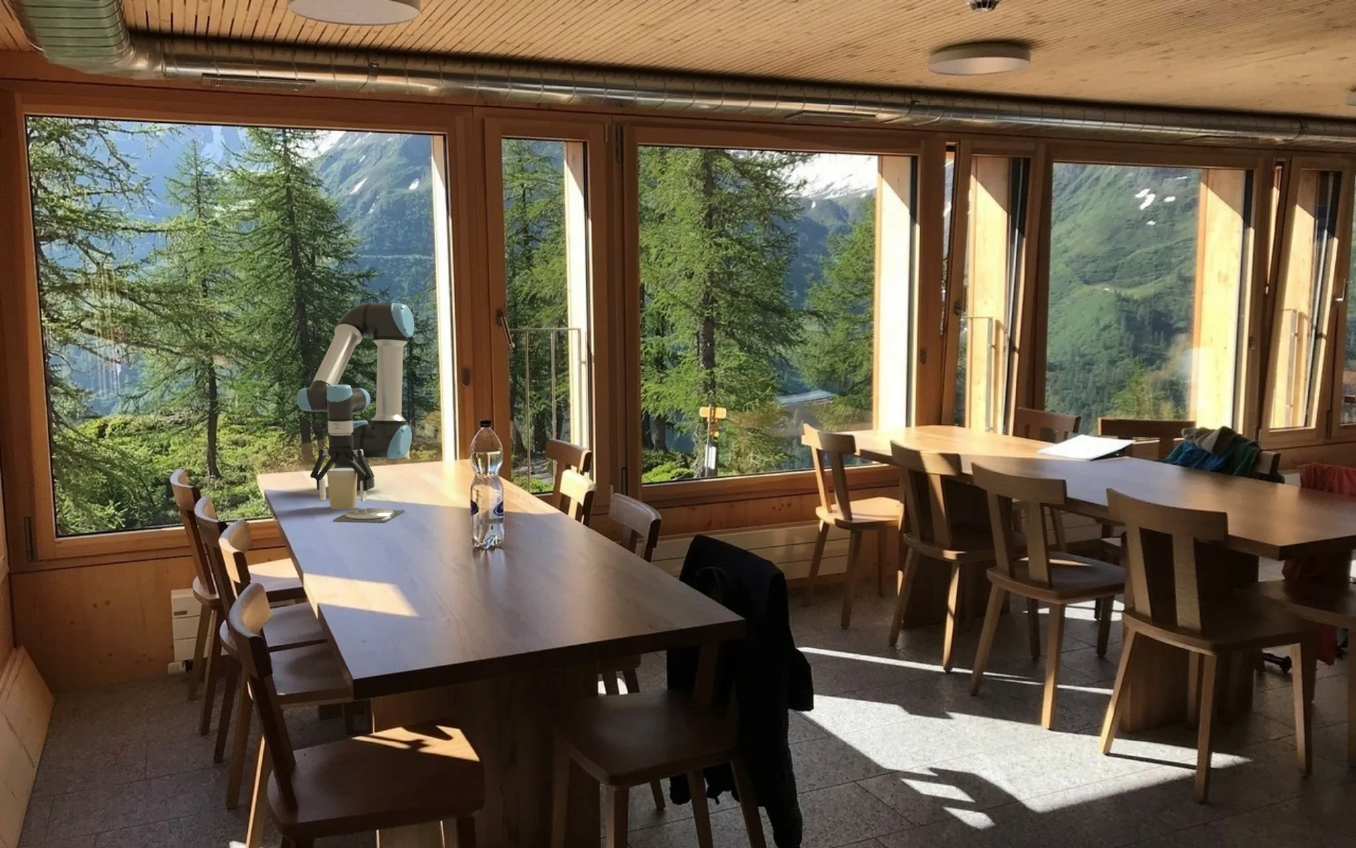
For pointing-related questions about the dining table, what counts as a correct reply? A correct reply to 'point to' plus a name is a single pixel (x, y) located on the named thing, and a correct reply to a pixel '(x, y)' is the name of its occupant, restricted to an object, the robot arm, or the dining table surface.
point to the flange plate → (369, 515)
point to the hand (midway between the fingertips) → (343, 500)
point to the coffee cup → (342, 488)
